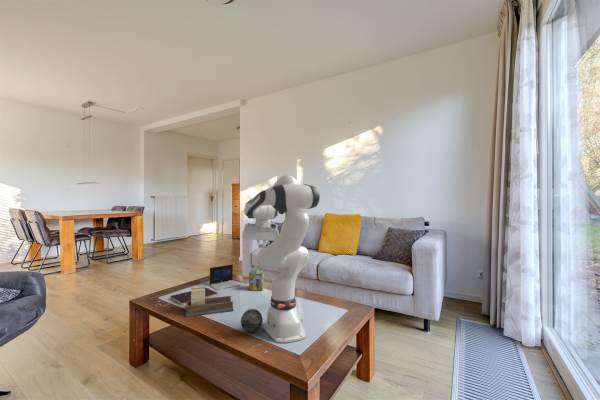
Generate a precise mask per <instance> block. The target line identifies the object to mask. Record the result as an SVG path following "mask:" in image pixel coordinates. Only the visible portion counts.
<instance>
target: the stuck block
mask: <svg viewBox="0 0 600 400" xmlns="http://www.w3.org/2000/svg"><path fill="white" fill-rule="evenodd" d="M205 287H206V286H199V287H191V290H190V291H191V306H194V305H203V304H205Z"/></svg>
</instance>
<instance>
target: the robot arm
mask: <svg viewBox="0 0 600 400" xmlns="http://www.w3.org/2000/svg"><path fill="white" fill-rule="evenodd" d="M320 199H321V198H320V191H319V190H318V188H317V187H316V186H314V185H311V184H299V183H298V181H297V179H296V178H295V177H294V176H293V175H291V174H290V175H289V174H285V175H282V176H281V177H280V178H278V179H277V180H276V181H275V182H274V184H272V185H271V186H270V187H268V188H267V189H264V190H261V191H260V192H259V193H257V194H256V195H255V196H253V198H251V199H250V200H248V201H247V202H246V203H245V206H244V210H243V211H244V212H243V213H244V215H245V216H246V217H247V218H248V219H255V223H251V222H250V223H246V224H245V225H244V236H243V237H244V239H245V240H253V241H254V240H255V241H256V243H257V247H258V248H259V251H258V252H257V257H256V260H257V264H258V266H259V267H260V268H261V269H262V270H263V269H264V270H270V271H271V270H272V271H274V270H275V271H276V270H282V272H281V273H279V275H277V276H275V277H274V278H273V279H272V282H271V297H270V307H269V309H268V310H267V312H266V313H267V314H266V324H265V325H264V326H263V328H262V330H264V331H265V332H266V333H267V335H269V337H271V339H273V340H274V341H275V342H277V343H282V344H284V343H294V342H297V341H301V340H304V339H306V338H307V335H306V332H305V328H304V327H303V324H302V323H303V320H304V319H303V316H300V311H298V308H297V302H296V301H297V300H296V296H295V292H296V291H295V290H296V281H297V277H298V275H299V274H300V272H301V270H303V268H305V266H306V265H308V263H309V260H310V252H309V250H308V249H307V247H306V246H303V245H302V244H303V242H304V240H305V237H306V234H307V231H308V229H309V225H310V217H309V214H308V213H307V211H306V209H307V210H311V209H314V208H316V207H318V204H319V203H320ZM278 214H279V215H284V220H283V222H282V225H281V227H280V228H281V229H280V231H279V229H278V227H279V225H278V224H276V223H274V222H271V220H274V219H275V218H277V217H278ZM260 241H262V242H263V243H262V244H261V243H260ZM267 241H272V242H271V243H270V244H269V245H266V246H265V244H266V242H267Z"/></svg>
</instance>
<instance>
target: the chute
mask: <svg viewBox="0 0 600 400" xmlns="http://www.w3.org/2000/svg"><path fill="white" fill-rule="evenodd" d="M185 305H186V306H185V318H190V317H191V318H192V317H196V316H197V317H198V316H207V315H211V314H212V315H213V314H220V313H221V314H222V313H228V312H229V313H230V312H234V302H233V300H232V296H231V295H226V296H225V295H224V296H214V297H210V298H205V304H203V305H194V306H191V300H187V303H186V304H185Z"/></svg>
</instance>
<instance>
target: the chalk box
mask: <svg viewBox="0 0 600 400" xmlns="http://www.w3.org/2000/svg"><path fill="white" fill-rule="evenodd" d="M264 280H265V271H264V270H258V268H257V266H255V267H254V270H250V272H249V273H248V291H263V289H264V287H265V284H264V283H265V281H264Z"/></svg>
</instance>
